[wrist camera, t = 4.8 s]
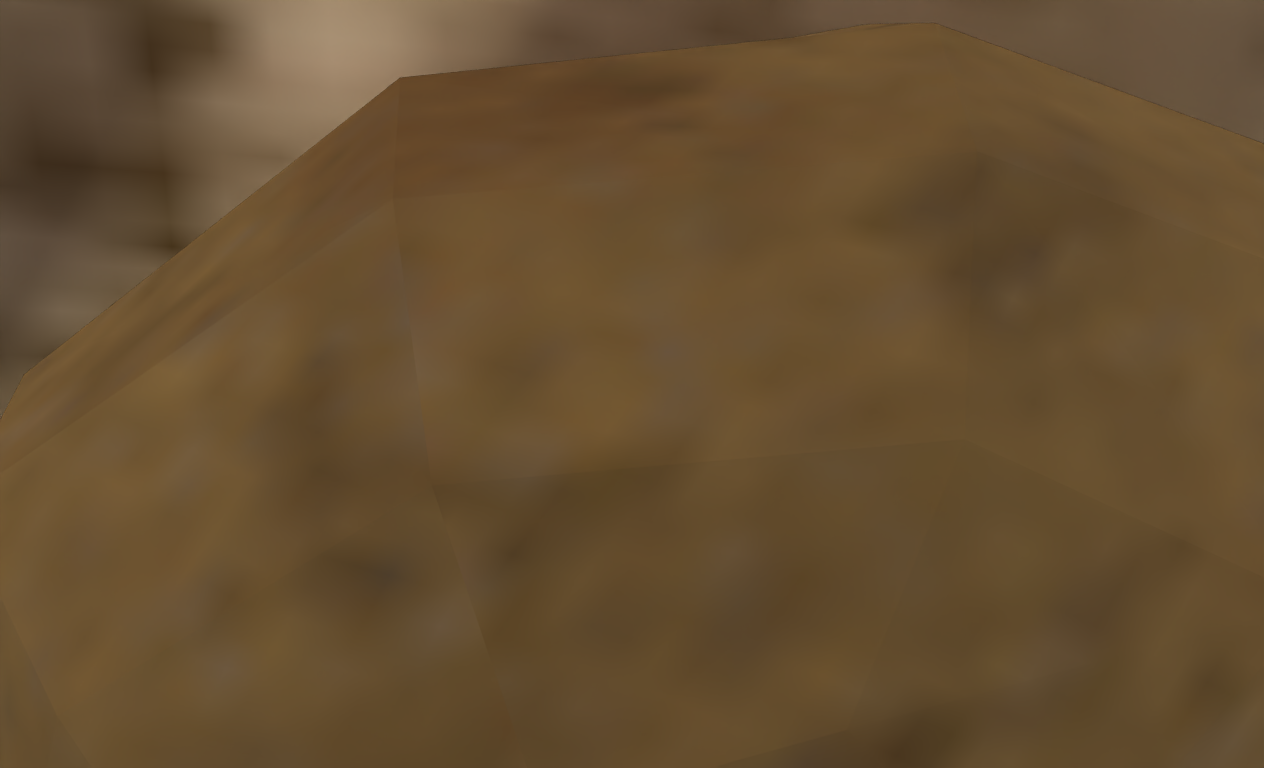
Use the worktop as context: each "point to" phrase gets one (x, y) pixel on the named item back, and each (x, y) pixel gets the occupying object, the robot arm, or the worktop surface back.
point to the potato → (670, 435)
